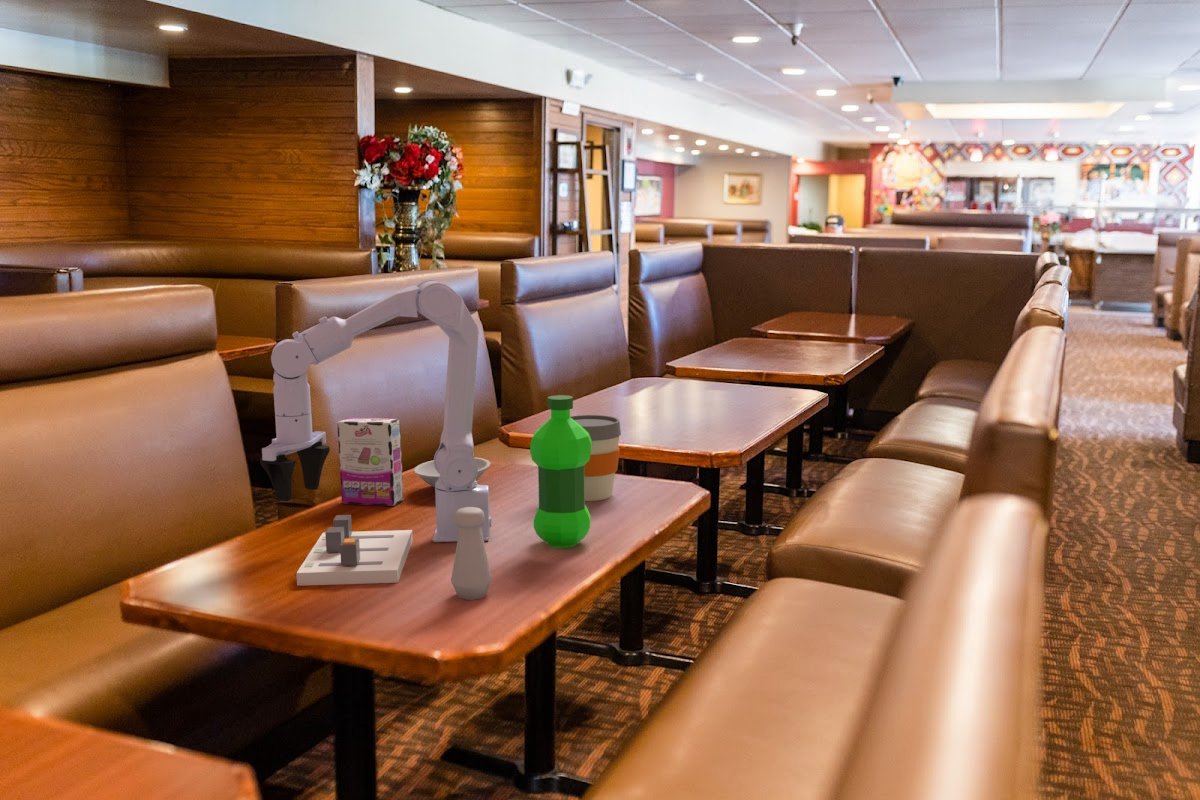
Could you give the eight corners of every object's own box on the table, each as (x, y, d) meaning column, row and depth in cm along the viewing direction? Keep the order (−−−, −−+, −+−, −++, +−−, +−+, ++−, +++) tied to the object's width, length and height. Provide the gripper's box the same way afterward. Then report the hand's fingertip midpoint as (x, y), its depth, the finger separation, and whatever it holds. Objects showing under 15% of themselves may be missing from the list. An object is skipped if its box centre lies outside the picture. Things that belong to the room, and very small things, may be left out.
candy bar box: (404, 500, 210) (401, 418, 207) (394, 507, 205) (390, 422, 202) (352, 497, 212) (347, 416, 210) (340, 504, 207) (336, 420, 205)
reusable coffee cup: (560, 486, 219) (559, 414, 216) (621, 487, 219) (621, 414, 216) (555, 503, 207) (554, 426, 204) (620, 503, 206) (620, 426, 204)
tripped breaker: (360, 558, 167) (359, 537, 166) (357, 565, 164) (355, 542, 163) (344, 559, 167) (343, 537, 166) (341, 565, 164) (339, 543, 163)
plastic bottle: (593, 534, 186) (591, 392, 182) (591, 552, 176) (589, 402, 172) (535, 534, 187) (532, 392, 182) (530, 552, 176) (527, 403, 172)
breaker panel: (412, 541, 183) (412, 529, 183) (397, 582, 163) (397, 569, 162) (323, 543, 182) (322, 531, 182) (297, 585, 162) (296, 572, 161)
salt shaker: (474, 604, 153) (472, 516, 151) (443, 597, 156) (440, 511, 154) (499, 592, 158) (497, 507, 156) (469, 585, 161) (466, 501, 159)
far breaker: (351, 533, 180) (351, 514, 180) (349, 538, 177) (348, 519, 177) (337, 533, 180) (336, 515, 180) (334, 539, 177) (333, 520, 177)
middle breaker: (344, 545, 173) (343, 526, 173) (341, 551, 170) (340, 532, 170) (329, 546, 173) (328, 527, 173) (326, 552, 170) (325, 532, 170)
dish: (445, 477, 228) (444, 454, 227) (505, 483, 223) (504, 459, 222) (398, 497, 212) (397, 472, 211) (461, 504, 207) (460, 479, 206)
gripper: (299, 404, 183) (304, 482, 185) (244, 420, 170) (249, 503, 172) (334, 406, 181) (339, 485, 183) (281, 422, 167) (286, 507, 170)
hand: (298, 494), depth 177 cm, fingers open, 7 cm apart
